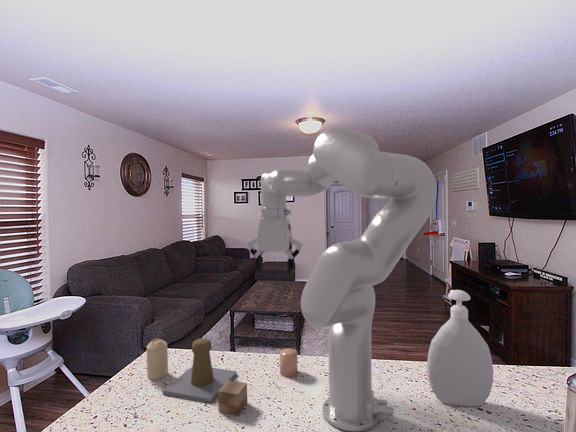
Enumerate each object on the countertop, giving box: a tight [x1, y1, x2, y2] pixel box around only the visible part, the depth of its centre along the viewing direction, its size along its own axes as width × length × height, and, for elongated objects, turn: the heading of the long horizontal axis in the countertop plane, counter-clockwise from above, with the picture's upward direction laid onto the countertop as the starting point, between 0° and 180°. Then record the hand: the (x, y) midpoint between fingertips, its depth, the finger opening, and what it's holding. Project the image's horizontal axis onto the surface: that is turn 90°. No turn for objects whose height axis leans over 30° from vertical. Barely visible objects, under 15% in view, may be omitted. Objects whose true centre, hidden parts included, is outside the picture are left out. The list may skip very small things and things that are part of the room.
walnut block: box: [217, 380, 248, 417], centre depth 78 cm, size 5×5×5 cm
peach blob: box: [279, 347, 299, 378], centre depth 93 cm, size 5×5×6 cm
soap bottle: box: [426, 289, 494, 408], centre depth 79 cm, size 14×8×27 cm, turn 79°
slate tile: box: [162, 365, 238, 404], centre depth 88 cm, size 14×14×1 cm
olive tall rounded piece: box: [191, 337, 214, 386], centre depth 88 cm, size 6×6×11 cm
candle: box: [146, 338, 169, 380], centre depth 93 cm, size 6×6×10 cm
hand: (275, 271), depth 98 cm, fingers open, 9 cm apart
